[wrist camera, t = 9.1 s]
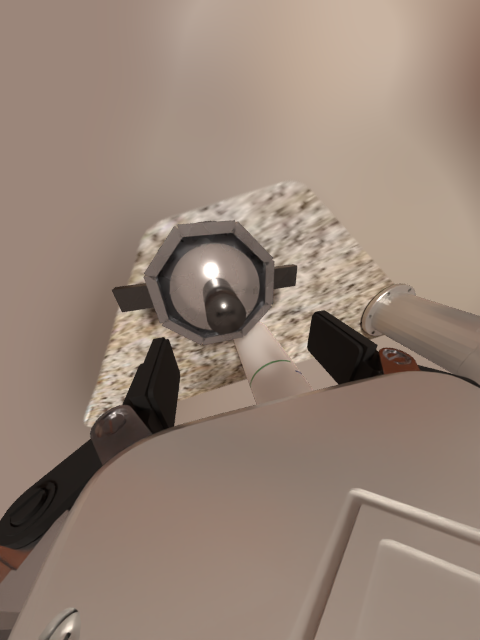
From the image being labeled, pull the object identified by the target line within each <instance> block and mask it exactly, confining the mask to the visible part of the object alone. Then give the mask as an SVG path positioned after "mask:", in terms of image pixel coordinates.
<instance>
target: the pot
mask: <svg viewBox="0 0 480 640" xmlns="http://www.w3.org/2000/svg"><path fill="white" fill-rule="evenodd" d="M177 226H178V228H176V227H175V226H174V227H173V229H172V230H171V232H170V234H169V235H168V237H167V238H166V240H165V241H164V243H163V245H162V246H161V247H160V249H159V250H158V252H157V254H156V256H155V257H154V259H153V260H152V262H151V263H150V265H149V267H148V268H147V270H146V271H145V273H144V274H145V276H144V279H145V282H146V283H144V284H136V285H128V286H120V287H115V288H114V289H113V290H112V292H113V294H114V296H115V298H116V300H117V302H118V304H119V307H120V309H121V311H122V312H127V311H134V310H140V309H147V308H153V307H154V308H155V311H156V313H157V316H158V319H159V322H160V323H163V324H162V326H164V327H166V328H168V329H170V330H172V331H174V332H176V333H178V334H180V335H182V336H184V337H186V338H188V339H190V340H192V341H194V342H196V343H198V344H200V345H201V344H202V343H203V345H207V344H212V343H217V342H222V341H227V340H232V339H237V338H242V337H243V335H244V336H246V335H247V334H248V332H249V331H250V330H251V329H252V328H253V327H254V326H255V325H256V324H257V322H258V321H259V320H260V319H261V318H262V317H263V316H264V315H265V314H266V313H267V311H268V310H269V309H270V308H271V307H272V306H271V304H273V289H277V288H284V287H290V286H295V284H296V274H297V266H296V265H294V264H292V265H284V266H276V267H274V261H273V260H272V259H273V257H272V256H271V255H270V254H269V253H268V252H267V251H266V250H265V249H264V248H263V247H262V246H261V245H260V244H259V243H258V242H257V241H256V240H255V239H254V238H253V237H252V235H251V234H250V233H249V232H248V231H247V230H246V229H245V228H244V227H243V226H242V225H241V224H240V223H239V222H235V220H233V221H219V222H216V221H205V222H198V223H192V224H178V225H177ZM206 243H223V244H226V245H229V246H232V247H234V248H236V249H238V250H239V251H241V252H242V253H244V254H245V255H246V256H247V257H248V258H249V259H250V260H251V262H252V263H253V265H254V266H255V268H256V271H257V273H258V277H259V285H260V288H259V296H258V299H257V302H256V304H255V306H254V308H253V310H252V311H251V312H250V314H249V315H248V316H247V317H246V319H245V322H244V324H243V325H242V326H241V327H240V328H239V329H238V330H236V331H235V332H232V333H228V334H221V333H218V332H215V331H214V330H207V329H202V328H199V327H196V326H194V325H192V324H190V323H189V322H187V321H186V320H185V319H184V318H183V317H182V316H181V315H180V314H179V313H178V312H177V310H176V309H175V307H174V305H173V302H172V300H171V295H170V279H171V275H172V272H173V270H174V268H175V266H176V264H177V262H178V261H179V259H180V258H181V257H182V256H183V255H184V254H185V253H186V252H188V251H189V250H191V249H192V248H194V247H196V246H199V245H202V244H206Z"/></svg>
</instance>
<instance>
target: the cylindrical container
mask: <svg viewBox="0 0 480 640" xmlns="http://www.w3.org/2000/svg"><path fill="white" fill-rule="evenodd" d="M234 343H235V346H236V349H237V352H238V355H239V357H240V360H241V363H242V366H243V368H244V371H245V374H246V377H247V379H248V382H249V385H250V387H251V390H252V393H253V396H254V399H255V401H256V404H261V403H265V402H269V401H274V400H278V399H282V398H286V397H290V396H294V395H298V394H302V393H306V392H310V391H314V390H313V388H312V387H311V386H310V384H309V383H308V382H307V380H306V379H305V378H304V376H303V375H302V373H301V372H300V371H299V369H298V368H297V367H296V365H295V364H294V363H293V361H292V360H291V359H290V357H289V356H288V354H287V353H286V352H285V350H284V349H283V348H282V346H281V345H280V344H279V342H278V341H277V340H276V338H275V337H274V336H273V334H272V333H271V332H270V330H269V329H268V327H267V326H266V325H265V324H264V323H262V322H259V321H258V322H257V324H256V325H255V326H254V327H253V328H252V329H251V330H250V331H249V332H248V334H247V335H246V336H244V335H243V337H242V338H237V339H234Z"/></svg>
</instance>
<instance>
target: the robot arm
mask: <svg viewBox="0 0 480 640" xmlns="http://www.w3.org/2000/svg"><path fill="white" fill-rule="evenodd" d="M362 327H363V330H364V331H365V332H366V333H368V334H370V335H372V336H379V335H383V334H384V335H386V336H387V337H389V338H391V339H393V340H395V341H396V342H398V343H400V344H401V345H403V346H405V347H407V348H409V349H410V350H412V351H414V352H416V353H417V354H419V355H421V356H423V357H424V358H426V359H428V360H429V361H432V362H433V363H435V364H437V365H438V366H440V367H442V368H443V369H445V370H447V371H449V372H451V373H452V374H451V373H447V372H443V371H439V370H435V369H432V368H427V367H423V366H420V365H417V363H416V361H415V359H414V358H413V357H412V356H410V355H409V354H407V353H406V352H403V351H401V350H398V349H394V348H382V349H380V350H379V352H378V351H377V350H376V348H377V344H375V343H374V342H372V341H371V340H369V339H367V338H366V337H364V336H363V335H361V334H360V333H358V332H357V331H355V330H354V329H352V328H351V327H349V326H348V325H346V324H345V323H343V322H342V321H340V320H339V319H337V318H336V317H334V316H333V315H331V314H329V313H328V312H326V311H325V310H323V311H317V312H315V313H314V314H313V315H312V320H311V326H310V332H309V339H308V345H307V348H308V351H309V352H310V353H311V354H312V355H313V356H314V357H315V359H316V360H317V361H318V362H319V363H320V364H321V365H322V366H323V368H324V369H325V370H326V371H327V372H328V373H329V374H330V375H331V376H332V378H333V379H334V380H335V381H336V382H337V383H338V384H339V385H336V386H331V387H328V388H323V389H319V390H315V391H310V392H306V393H302V394H298V395H294V396H290V397H286V398H282V399H278V400H274V401H269V402H265V403H261V404H257V405H253V406H249V407H245V408H242V409H238V410H233V411H229V412H225V413H221V414H218V415H214V416H210V417H207V418H202V419H199V420H195V421H191V422H187V423H184V424H181V425H177V426H174V423H175V414H176V407H177V399H178V391H179V383H180V371H179V368H178V365H177V362H176V359H175V356H174V353H173V350H172V347H171V344H170V341H169V339H165V338H164V337H162V338H156V339H153V341H152V344H151V346H150V349H149V351H148V353H147V356H146V358H145V361H144V363H143V364H140V366H139V367H138V370H137V372H136V374H135V377H134V379H133V381H132V384H131V386H130V388H129V391H128V393H127V395H126V397H125V400H124V402H123V404H122V405H119V406H116V407H113V408H111V409H110V410H108V411H106V412H105V413H104V414H103V415H101V416H100V417H99V418H98V419H97V420H96V422H95V423H94V425H93V426H92V428H91V431H90V438H91V439H90V440H89V441H88V442H86V443H85V444H84V445H82V446H81V447H80V448H79V449H78V450H76V451H75V452H74V453H73V454H71V455H70V456H69V457H68V458H66V459H65V460H64V461H62V462H61V463H60V464H59V465H57V466H56V467H55V468H54V469H53V470H52V471H50V472H49V473H48V474H47V475H45V476H44V477H43V478H41V479H40V480H39V481H38V482H36V483H35V484H34V485H33V486H31V487H30V488H29V489H28V490H26V491H25V492H24V493H23V494H22V495H21V496H20V497H19V498H18V499H17V500H16V501H15V502H14V503H13V504H12V505H11V507H10V508H9V509H8V510H7V512H6V513H5V515H4V516H3V517H2V519H1V520H0V640H480V316H477V315H475V314H472V313H468V312H465V311H462V310H459V309H456V308H452V307H449V306H446V305H443V304H440V303H436V302H433V301H430V300H427V299H424V298H421V297H417V296H416V293H415V290H414V288H413V287H412V286H410V285H406V284H395V285H392V286H390V287H388V288H386V289H384V290H383V291H381V292H380V293H379V294H378V295H377V296H376V297H375V298H374V299H373V300H372V301H371V302H370V304H369V305H368V306H367V308H366V310H365V312H364V315H363V318H362ZM78 611H79V612H78Z"/></svg>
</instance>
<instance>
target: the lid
mask: <svg viewBox="0 0 480 640" xmlns="http://www.w3.org/2000/svg"><path fill="white" fill-rule="evenodd" d="M259 288H260V285H259V277H258V273H257V271H256V268H255V266H254V265H253V263H252V262H251V260H250V259H249V258H248V257H247V256H246V255H245V254H244V253H242V252H241V251H239V250H238V249H236V248H234V247H232V246H229V245H226V244H223V243H206V244H202V245H199V246H196V247H194V248H192V249H191V250H189V251H188V252H186V253H185V254H184V255H183V256H182V257H181V258H180V259H179V261H178V262H177V264H176V266H175V268H174V270H173V272H172V275H171V279H170V295H171V300H172V302H173V305H174V307H175V309H176V310H177V312H178V313H179V314H180V315H181V316H182V317H183V318H184V319H185V320H186V321H187V322H189V323H190V324H192V325H194V326H196V327H199V328H202V329H207V330H214V331H215V332H218V333H221V334H228V333H232V332H235V331H236V330H238V329H239V328H240V327H241V326H242V325H243V324H244V322H245V319H246V317H247V316H248V315H249V314H250V312H251V311H252V310H253V308H254V306H255V304H256V302H257V299H258V296H259Z"/></svg>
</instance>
